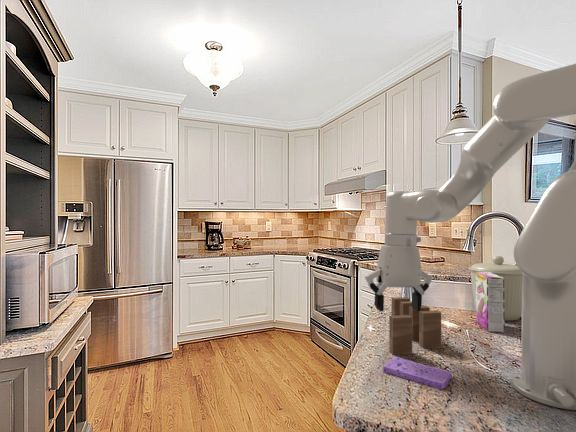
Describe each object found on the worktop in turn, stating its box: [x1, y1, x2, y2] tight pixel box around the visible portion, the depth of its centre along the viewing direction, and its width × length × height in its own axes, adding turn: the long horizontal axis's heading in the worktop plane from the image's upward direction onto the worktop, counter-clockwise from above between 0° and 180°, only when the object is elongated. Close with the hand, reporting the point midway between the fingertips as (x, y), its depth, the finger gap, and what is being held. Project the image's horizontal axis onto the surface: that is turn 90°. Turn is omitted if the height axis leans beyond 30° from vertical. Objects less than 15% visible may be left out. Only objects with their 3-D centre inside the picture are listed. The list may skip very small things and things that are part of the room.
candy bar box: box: [475, 272, 506, 334], centre depth 109 cm, size 11×5×16 cm, turn 168°
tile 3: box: [409, 305, 431, 342], centre depth 97 cm, size 2×5×9 cm, turn 99°
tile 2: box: [418, 310, 442, 349], centre depth 91 cm, size 2×5×9 cm, turn 99°
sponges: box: [382, 355, 453, 390], centre depth 74 cm, size 7×13×2 cm, turn 51°
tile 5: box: [390, 296, 411, 316], centre depth 108 cm, size 2×5×9 cm, turn 99°
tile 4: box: [400, 300, 412, 315], centre depth 102 cm, size 2×5×9 cm, turn 99°
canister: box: [468, 255, 523, 322], centre depth 121 cm, size 18×18×21 cm
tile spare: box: [388, 315, 413, 356], centre depth 87 cm, size 2×5×9 cm, turn 99°
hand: (397, 309), depth 87 cm, fingers open, 9 cm apart
